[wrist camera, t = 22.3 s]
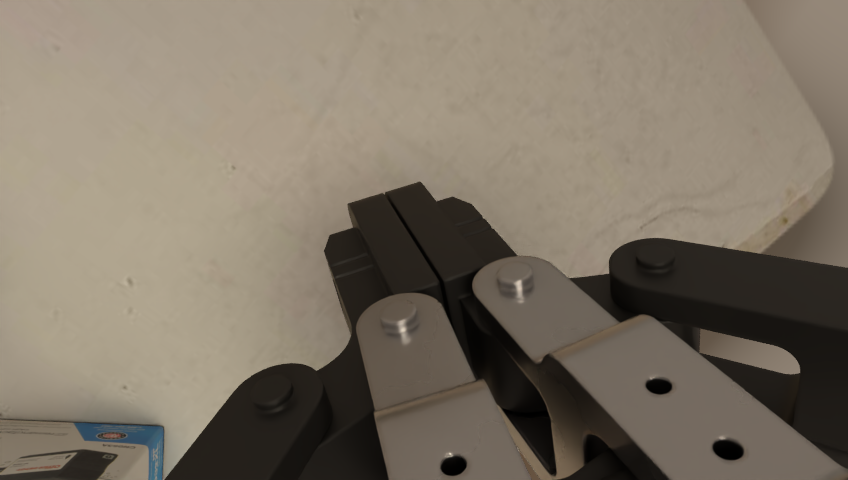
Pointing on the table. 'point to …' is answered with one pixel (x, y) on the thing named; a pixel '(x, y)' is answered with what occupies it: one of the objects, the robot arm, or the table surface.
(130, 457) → the ink box
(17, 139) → the table surface
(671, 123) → the table surface
